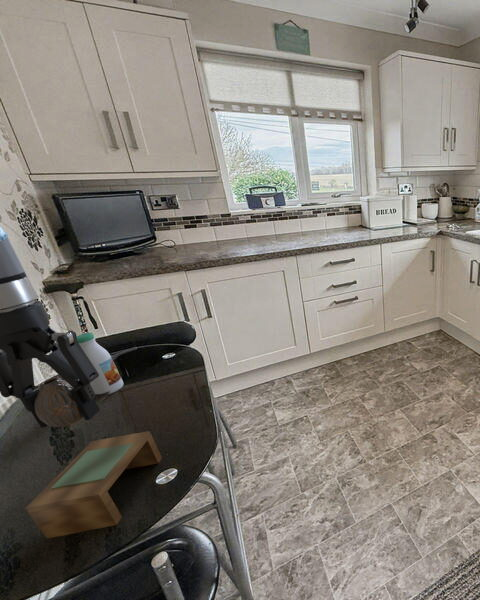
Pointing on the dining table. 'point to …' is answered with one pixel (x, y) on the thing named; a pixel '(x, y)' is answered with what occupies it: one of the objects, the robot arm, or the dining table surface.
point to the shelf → (90, 485)
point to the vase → (57, 404)
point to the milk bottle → (100, 365)
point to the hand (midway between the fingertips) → (71, 418)
